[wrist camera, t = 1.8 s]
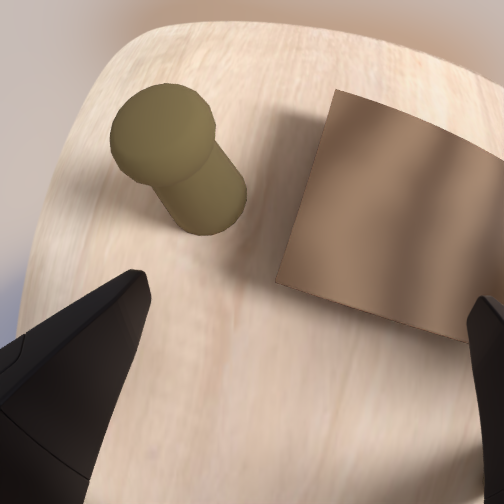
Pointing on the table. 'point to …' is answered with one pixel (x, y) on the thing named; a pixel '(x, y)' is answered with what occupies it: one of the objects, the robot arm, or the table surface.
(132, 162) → the olive pepper shaker
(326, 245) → the small wooden stand
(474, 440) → the table surface
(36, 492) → the robot arm
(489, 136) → the table surface
